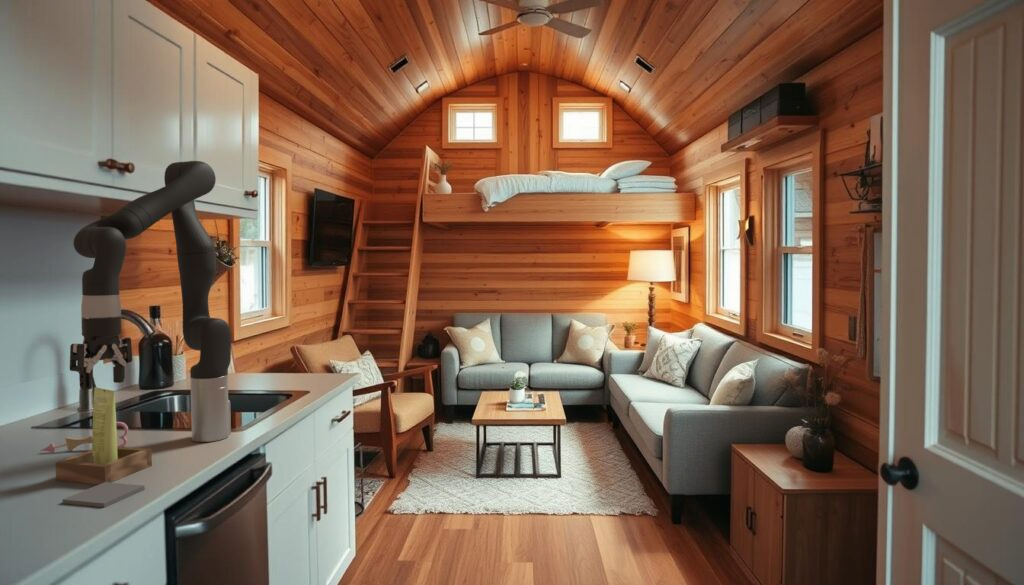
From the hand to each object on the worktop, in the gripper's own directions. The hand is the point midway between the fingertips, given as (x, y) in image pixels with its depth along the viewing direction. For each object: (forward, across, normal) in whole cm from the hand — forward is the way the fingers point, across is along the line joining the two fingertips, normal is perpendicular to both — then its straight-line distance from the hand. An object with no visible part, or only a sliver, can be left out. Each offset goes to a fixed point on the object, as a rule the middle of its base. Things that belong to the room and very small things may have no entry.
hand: (102, 385), depth 140 cm
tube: (+20, 0, 0) cm, 20 cm away
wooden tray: (+20, 0, 0) cm, 20 cm away
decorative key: (+20, -14, -20) cm, 32 cm away
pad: (+20, +12, +12) cm, 26 cm away
